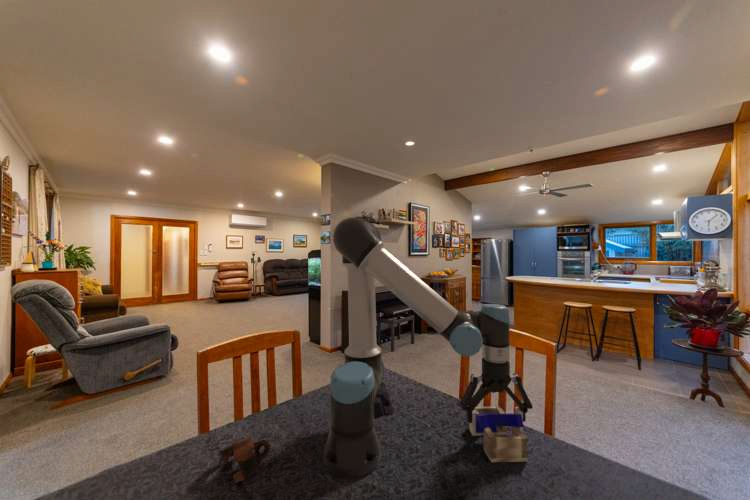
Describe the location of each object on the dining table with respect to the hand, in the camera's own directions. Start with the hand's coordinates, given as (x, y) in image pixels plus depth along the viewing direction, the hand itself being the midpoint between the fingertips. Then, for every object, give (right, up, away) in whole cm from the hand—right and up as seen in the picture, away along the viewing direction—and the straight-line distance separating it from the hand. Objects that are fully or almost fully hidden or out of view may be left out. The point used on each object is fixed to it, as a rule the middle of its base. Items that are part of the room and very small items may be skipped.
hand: (495, 432), depth 85 cm
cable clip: (0, +2, +2) cm, 3 cm away
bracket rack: (0, -3, 0) cm, 3 cm away
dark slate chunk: (-36, -4, +24) cm, 44 cm away
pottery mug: (-68, -3, -10) cm, 69 cm away
